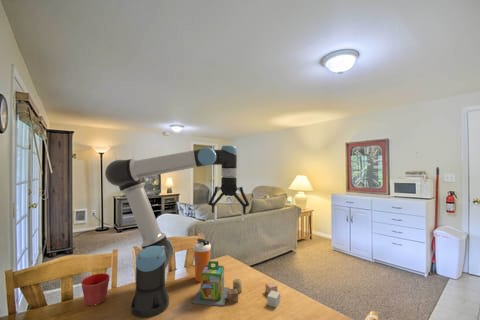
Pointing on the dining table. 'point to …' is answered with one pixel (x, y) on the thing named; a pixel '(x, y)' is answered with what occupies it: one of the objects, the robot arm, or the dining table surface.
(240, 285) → the oak cylinder
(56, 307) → the dining table surface
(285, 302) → the dining table surface
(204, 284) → the chalk box
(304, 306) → the dining table surface
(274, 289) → the terracotta cube
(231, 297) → the walnut block
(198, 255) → the shaker bottle
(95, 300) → the flower pot
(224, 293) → the mat
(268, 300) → the grey plastic block
